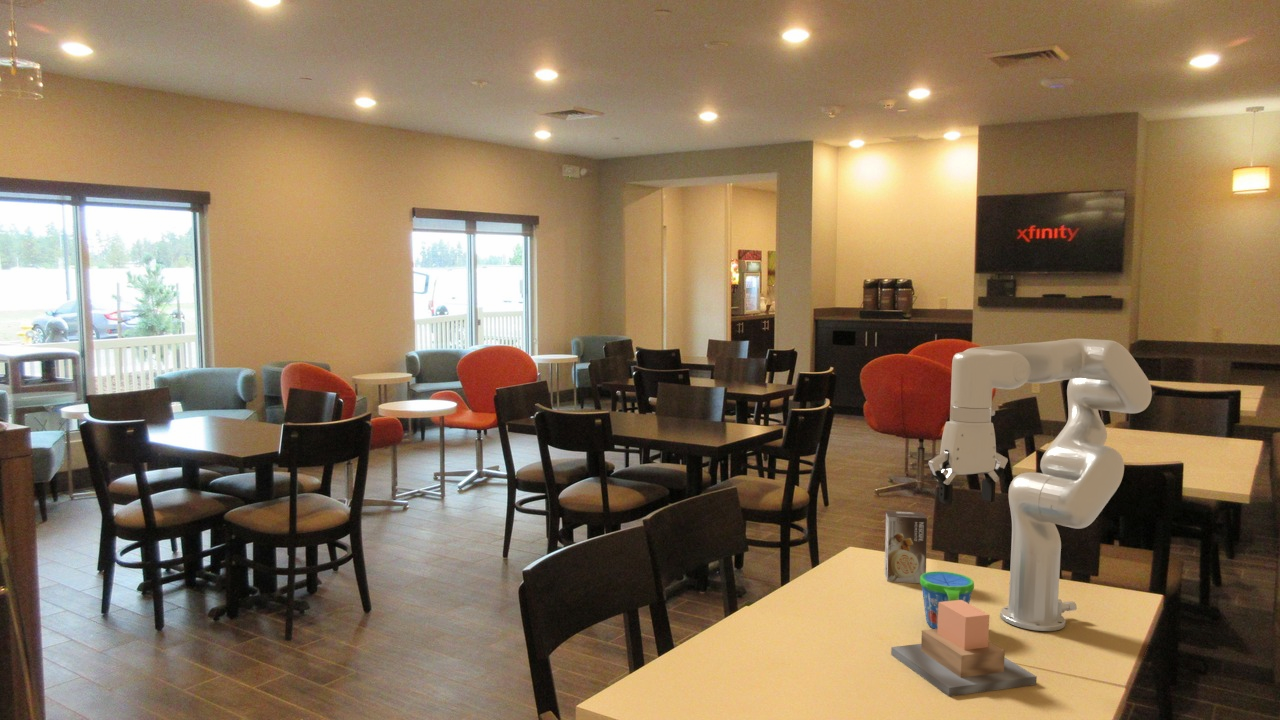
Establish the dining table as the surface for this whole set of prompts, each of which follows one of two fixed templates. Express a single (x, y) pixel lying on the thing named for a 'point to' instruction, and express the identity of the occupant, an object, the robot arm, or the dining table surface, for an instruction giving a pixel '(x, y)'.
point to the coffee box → (905, 546)
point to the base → (957, 682)
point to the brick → (963, 624)
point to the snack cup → (943, 591)
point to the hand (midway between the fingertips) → (966, 501)
